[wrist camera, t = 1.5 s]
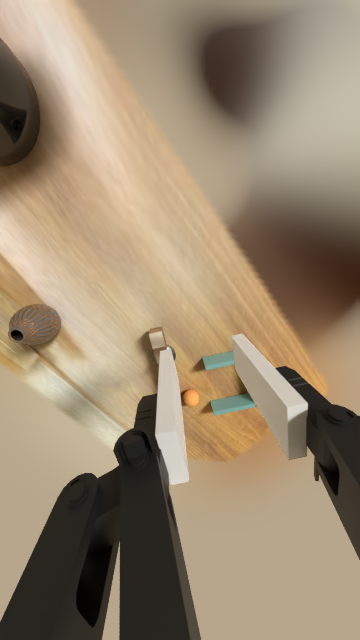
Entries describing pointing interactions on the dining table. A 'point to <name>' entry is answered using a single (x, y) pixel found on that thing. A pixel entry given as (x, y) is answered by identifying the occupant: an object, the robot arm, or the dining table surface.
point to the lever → (157, 341)
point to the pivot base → (167, 348)
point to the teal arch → (230, 402)
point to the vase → (34, 324)
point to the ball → (191, 398)
